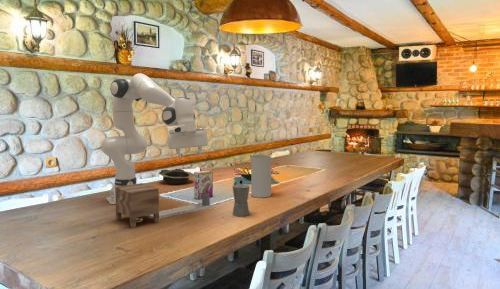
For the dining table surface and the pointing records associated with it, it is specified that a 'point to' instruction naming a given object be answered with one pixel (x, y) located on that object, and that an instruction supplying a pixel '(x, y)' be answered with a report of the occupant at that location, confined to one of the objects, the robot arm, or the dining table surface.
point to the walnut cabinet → (137, 202)
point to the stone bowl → (175, 176)
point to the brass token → (139, 219)
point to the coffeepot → (240, 199)
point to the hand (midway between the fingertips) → (189, 156)
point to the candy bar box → (203, 183)
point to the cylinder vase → (261, 176)
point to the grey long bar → (186, 208)
